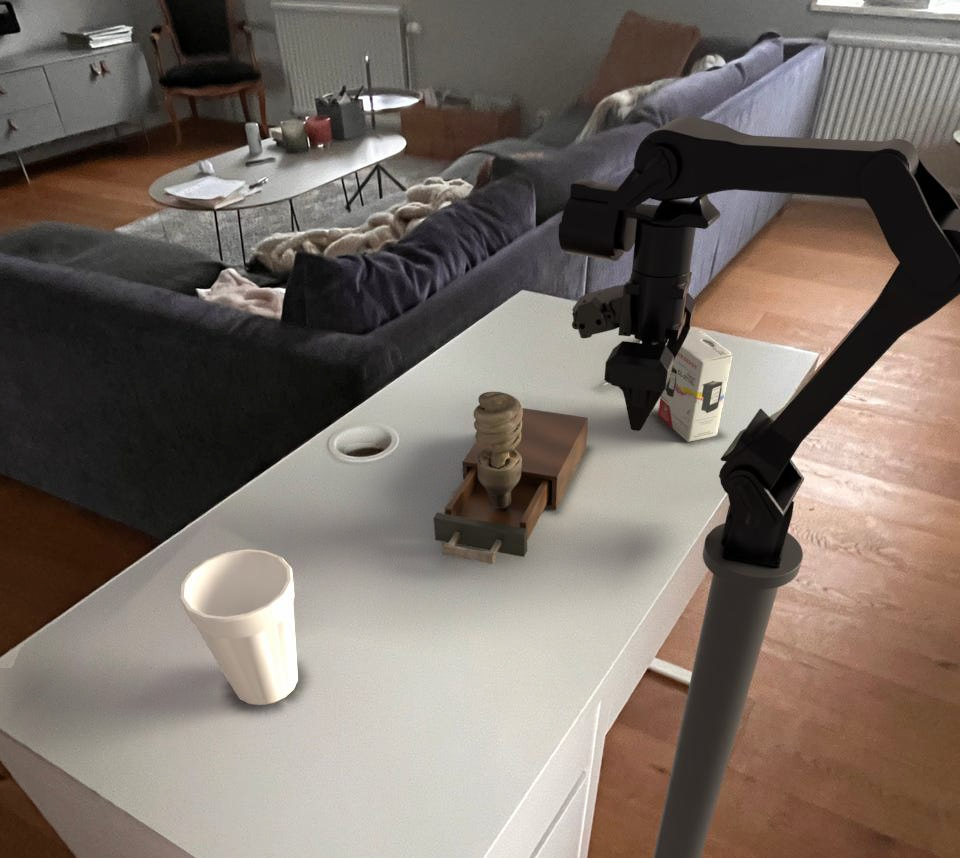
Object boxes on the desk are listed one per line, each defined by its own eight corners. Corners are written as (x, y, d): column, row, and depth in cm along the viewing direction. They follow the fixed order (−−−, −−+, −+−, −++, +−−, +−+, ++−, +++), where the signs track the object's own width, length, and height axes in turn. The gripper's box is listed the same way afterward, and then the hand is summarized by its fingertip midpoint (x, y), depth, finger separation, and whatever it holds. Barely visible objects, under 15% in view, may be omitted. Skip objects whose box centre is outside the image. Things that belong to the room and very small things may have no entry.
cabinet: (555, 510, 102) (557, 476, 98) (463, 494, 105) (462, 461, 102) (586, 449, 112) (588, 417, 109) (501, 436, 115) (501, 404, 112)
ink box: (656, 415, 118) (666, 334, 110) (685, 408, 119) (698, 328, 111) (687, 443, 112) (701, 360, 104) (718, 435, 114) (734, 353, 105)
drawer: (513, 577, 91) (513, 554, 89) (422, 559, 94) (420, 536, 92) (558, 490, 103) (559, 468, 101) (476, 477, 106) (475, 455, 104)
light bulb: (525, 521, 97) (526, 404, 87) (479, 525, 97) (475, 408, 86) (518, 494, 101) (519, 380, 91) (474, 498, 101) (470, 384, 91)
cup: (207, 667, 83) (170, 566, 74) (303, 638, 86) (278, 537, 77) (226, 736, 77) (188, 634, 68) (329, 702, 79) (306, 599, 70)
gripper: (603, 231, 91) (594, 366, 101) (558, 293, 78) (552, 440, 89) (706, 239, 88) (685, 377, 98) (675, 306, 75) (655, 456, 86)
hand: (644, 410), depth 93 cm, fingers open, 9 cm apart
